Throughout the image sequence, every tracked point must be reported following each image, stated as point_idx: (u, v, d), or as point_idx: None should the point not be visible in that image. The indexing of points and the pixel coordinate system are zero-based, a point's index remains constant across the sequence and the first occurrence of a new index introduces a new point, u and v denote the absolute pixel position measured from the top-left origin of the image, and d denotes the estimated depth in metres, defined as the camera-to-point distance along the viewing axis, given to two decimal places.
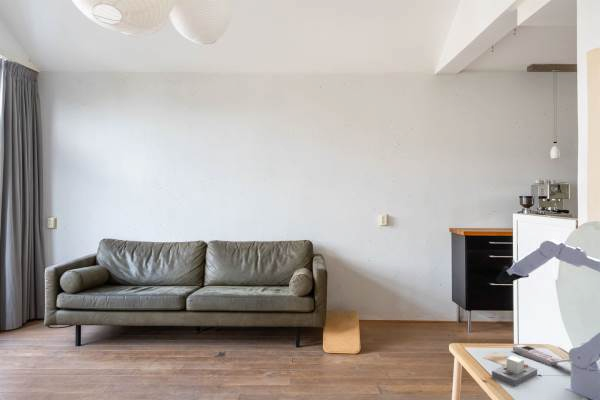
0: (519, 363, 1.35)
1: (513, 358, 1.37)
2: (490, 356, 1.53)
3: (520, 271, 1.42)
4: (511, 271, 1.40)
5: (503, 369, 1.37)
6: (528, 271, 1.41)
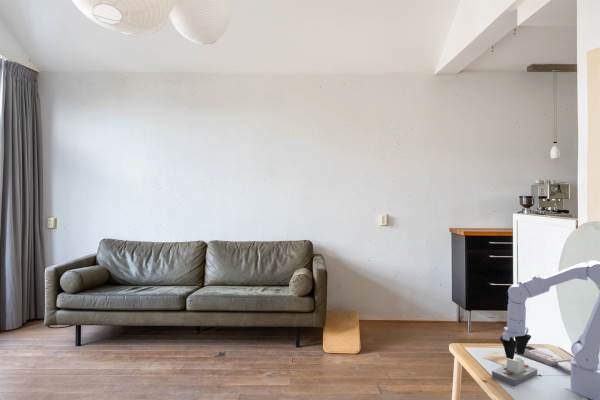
0: (519, 363, 1.35)
1: (514, 358, 1.37)
2: (490, 356, 1.53)
3: (515, 332, 1.34)
4: (506, 335, 1.33)
5: (503, 369, 1.37)
6: (521, 327, 1.34)
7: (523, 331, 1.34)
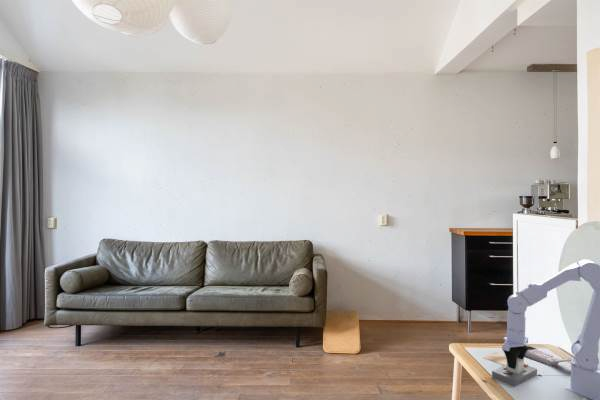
0: (519, 363, 1.35)
1: None
2: (490, 356, 1.53)
3: (515, 342, 1.35)
4: (506, 346, 1.33)
5: (503, 369, 1.37)
6: (520, 338, 1.34)
7: (523, 341, 1.34)
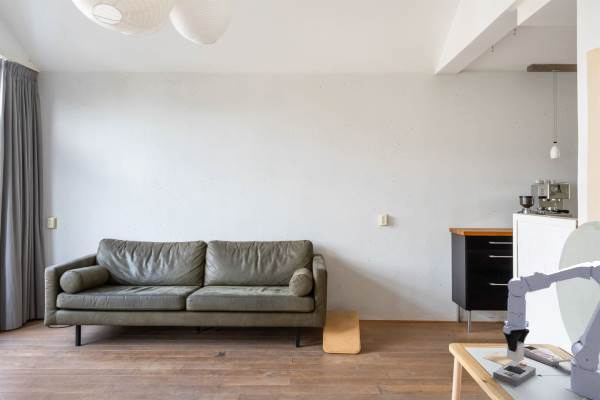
0: (520, 347, 1.35)
1: None
2: (490, 356, 1.53)
3: (515, 325, 1.34)
4: (506, 329, 1.33)
5: (503, 369, 1.37)
6: (521, 321, 1.34)
7: (523, 324, 1.34)
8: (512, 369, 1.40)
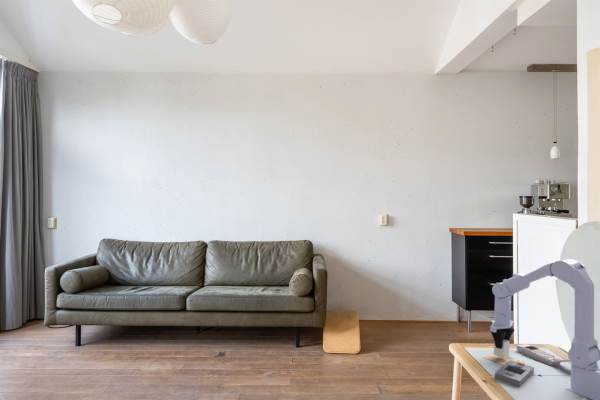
0: (505, 344, 1.49)
1: None
2: (490, 356, 1.53)
3: (501, 325, 1.48)
4: (493, 328, 1.47)
5: (504, 370, 1.37)
6: (506, 320, 1.48)
7: (508, 324, 1.48)
8: (511, 369, 1.40)
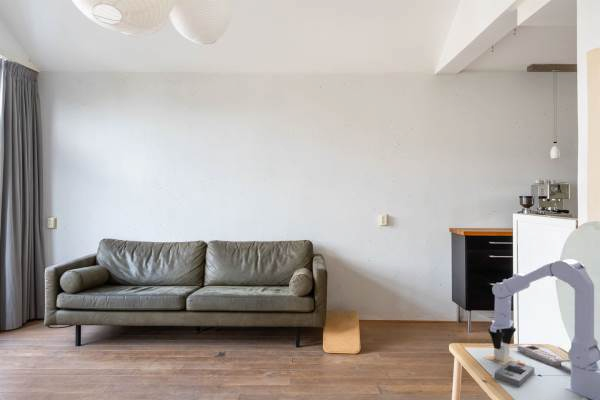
0: (505, 348, 1.49)
1: None
2: (490, 356, 1.53)
3: (501, 325, 1.48)
4: (493, 328, 1.47)
5: (504, 370, 1.37)
6: (506, 320, 1.48)
7: (508, 324, 1.48)
8: (511, 369, 1.40)
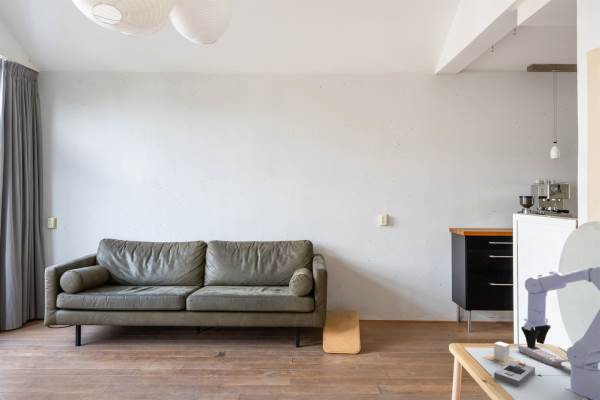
0: (505, 348, 1.49)
1: (500, 343, 1.51)
2: (490, 356, 1.53)
3: (536, 322, 1.41)
4: (527, 325, 1.39)
5: (504, 369, 1.37)
6: (541, 317, 1.40)
7: (543, 321, 1.41)
8: (512, 369, 1.40)
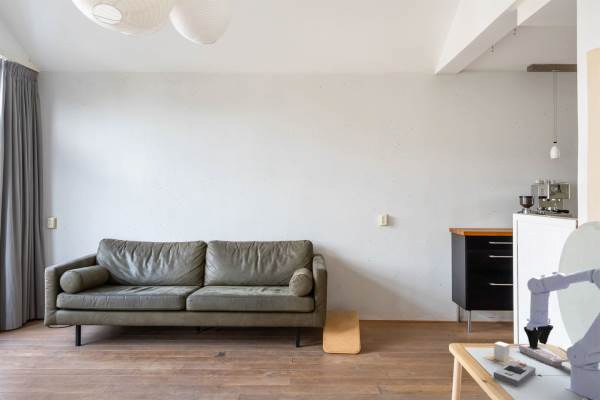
0: (505, 348, 1.49)
1: (500, 343, 1.51)
2: (490, 356, 1.53)
3: (538, 322, 1.40)
4: (530, 325, 1.38)
5: (504, 369, 1.37)
6: (544, 318, 1.40)
7: (546, 321, 1.40)
8: (512, 369, 1.40)
